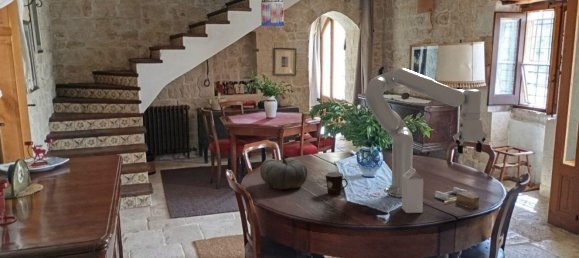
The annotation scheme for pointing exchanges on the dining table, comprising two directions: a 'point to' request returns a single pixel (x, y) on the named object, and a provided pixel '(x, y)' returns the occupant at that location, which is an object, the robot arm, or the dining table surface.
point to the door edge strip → (450, 201)
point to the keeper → (446, 195)
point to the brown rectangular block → (467, 200)
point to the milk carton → (412, 192)
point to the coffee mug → (334, 183)
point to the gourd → (283, 173)
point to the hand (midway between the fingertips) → (469, 152)
